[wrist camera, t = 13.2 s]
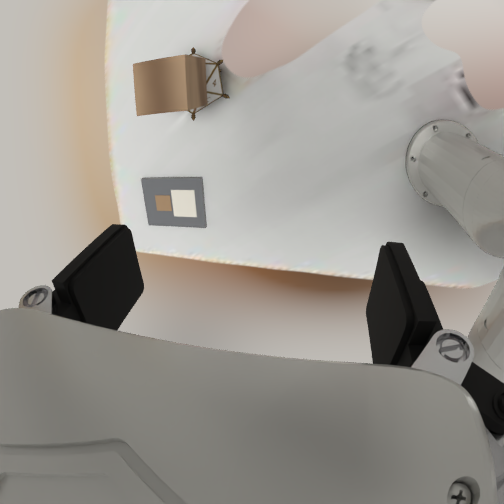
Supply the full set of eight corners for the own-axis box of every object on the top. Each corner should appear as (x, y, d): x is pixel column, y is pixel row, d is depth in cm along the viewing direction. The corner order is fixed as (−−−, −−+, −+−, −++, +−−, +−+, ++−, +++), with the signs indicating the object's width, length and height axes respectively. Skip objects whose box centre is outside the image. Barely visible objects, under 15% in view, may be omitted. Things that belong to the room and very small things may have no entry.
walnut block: (205, 58, 28) (184, 54, 23) (207, 105, 31) (187, 110, 26) (159, 64, 29) (132, 64, 24) (162, 109, 32) (136, 116, 27)
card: (202, 177, 44) (200, 178, 43) (206, 226, 48) (205, 228, 47) (143, 178, 45) (140, 179, 45) (150, 223, 50) (148, 225, 49)
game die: (224, 82, 39) (252, 103, 33) (175, 114, 40) (191, 142, 34) (196, 33, 32) (219, 42, 26) (141, 68, 33) (149, 85, 27)
